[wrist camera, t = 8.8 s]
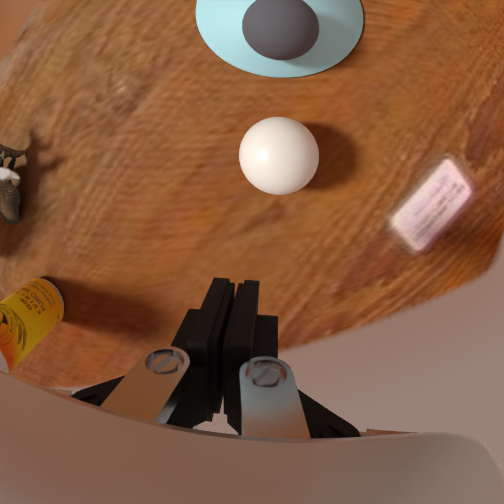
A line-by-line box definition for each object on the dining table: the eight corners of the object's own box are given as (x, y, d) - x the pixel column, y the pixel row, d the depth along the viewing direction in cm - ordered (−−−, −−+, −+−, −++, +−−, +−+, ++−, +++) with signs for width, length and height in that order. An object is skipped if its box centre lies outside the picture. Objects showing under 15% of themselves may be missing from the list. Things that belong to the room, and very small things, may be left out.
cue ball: (260, 220, 20) (260, 186, 24) (337, 190, 18) (322, 161, 23) (220, 150, 17) (228, 128, 21) (306, 112, 15) (295, 99, 20)
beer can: (66, 285, 28) (-22, 362, 14) (68, 326, 30) (-3, 405, 16) (30, 268, 28) (-56, 330, 14) (34, 308, 30) (-38, 374, 16)
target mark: (253, -63, 15) (253, -65, 14) (388, 2, 16) (388, 1, 16) (165, 35, 19) (164, 34, 19) (309, 110, 21) (309, 110, 21)
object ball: (264, 72, 21) (268, 19, 19) (329, 68, 18) (329, 11, 16) (222, 50, 16) (230, -9, 15) (298, 37, 13) (299, -26, 12)
